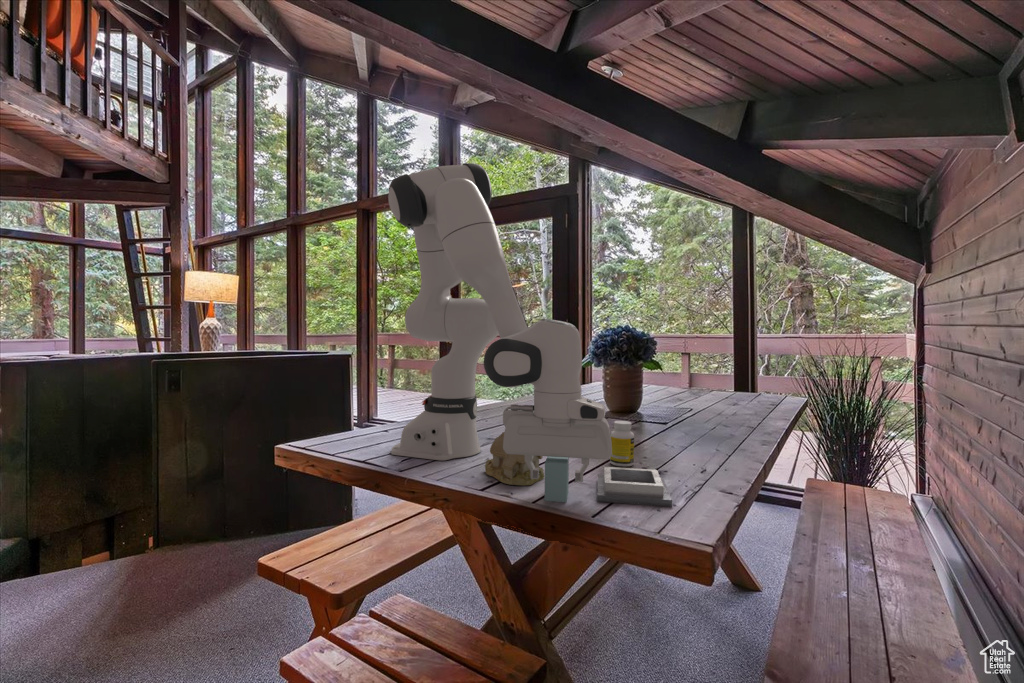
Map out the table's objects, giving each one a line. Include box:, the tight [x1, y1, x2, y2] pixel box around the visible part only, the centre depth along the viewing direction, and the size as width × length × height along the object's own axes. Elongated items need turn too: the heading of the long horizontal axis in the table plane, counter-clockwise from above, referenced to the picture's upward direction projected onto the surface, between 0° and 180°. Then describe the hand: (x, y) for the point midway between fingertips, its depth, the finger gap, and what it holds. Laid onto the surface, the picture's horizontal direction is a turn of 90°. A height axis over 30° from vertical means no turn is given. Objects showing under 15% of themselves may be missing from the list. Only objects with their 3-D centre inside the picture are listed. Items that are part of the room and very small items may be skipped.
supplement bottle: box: [609, 420, 635, 468], centre depth 113 cm, size 5×5×10 cm
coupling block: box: [544, 456, 570, 503], centre depth 90 cm, size 4×6×7 cm
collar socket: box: [596, 466, 673, 508], centre depth 93 cm, size 13×13×3 cm
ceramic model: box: [484, 431, 545, 486], centre depth 103 cm, size 14×11×10 cm
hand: (556, 479), depth 90 cm, fingers open, 7 cm apart
